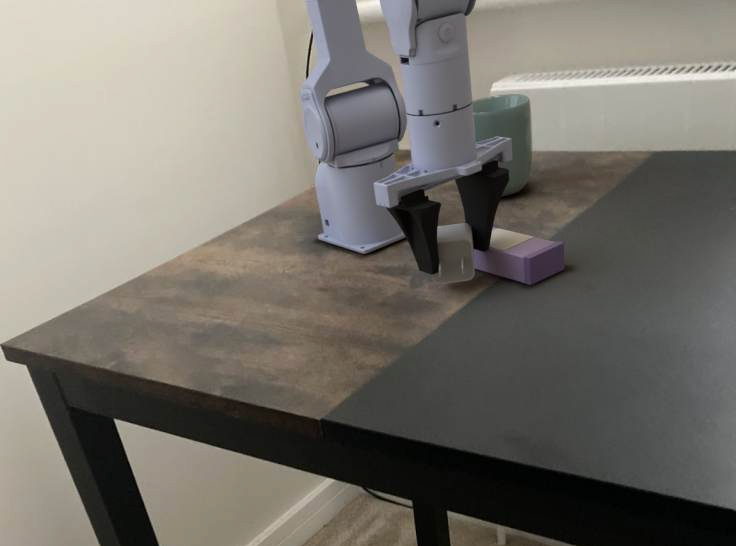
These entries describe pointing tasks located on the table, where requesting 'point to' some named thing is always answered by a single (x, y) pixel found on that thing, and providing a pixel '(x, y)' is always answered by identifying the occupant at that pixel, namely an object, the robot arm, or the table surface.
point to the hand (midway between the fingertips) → (454, 260)
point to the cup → (507, 133)
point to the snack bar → (520, 257)
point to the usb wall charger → (454, 254)
